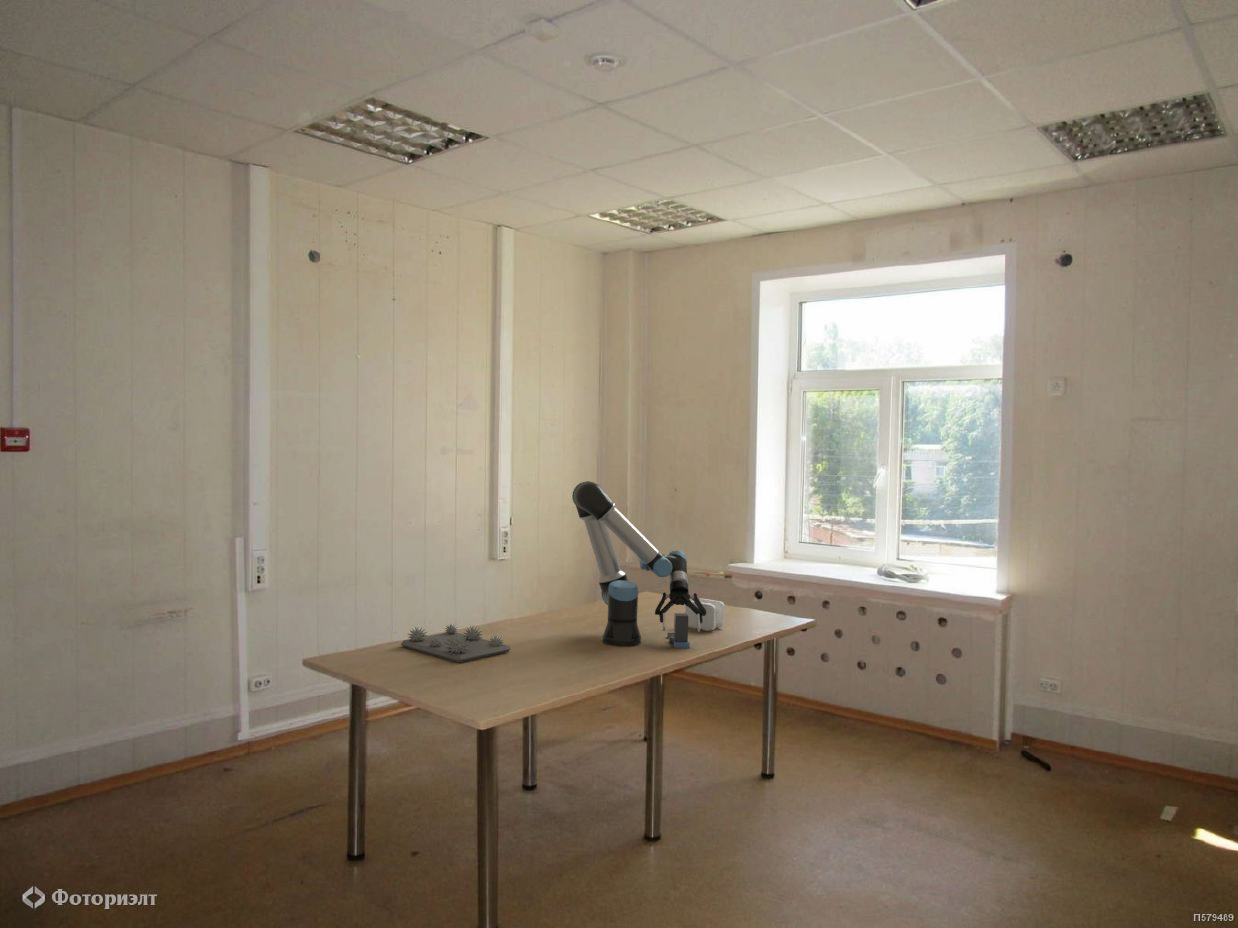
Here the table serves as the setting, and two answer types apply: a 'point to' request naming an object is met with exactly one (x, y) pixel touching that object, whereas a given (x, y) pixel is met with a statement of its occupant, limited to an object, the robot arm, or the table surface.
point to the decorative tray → (455, 644)
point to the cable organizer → (707, 615)
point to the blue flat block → (680, 644)
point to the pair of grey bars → (670, 636)
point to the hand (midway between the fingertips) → (681, 629)
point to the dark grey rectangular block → (680, 627)
